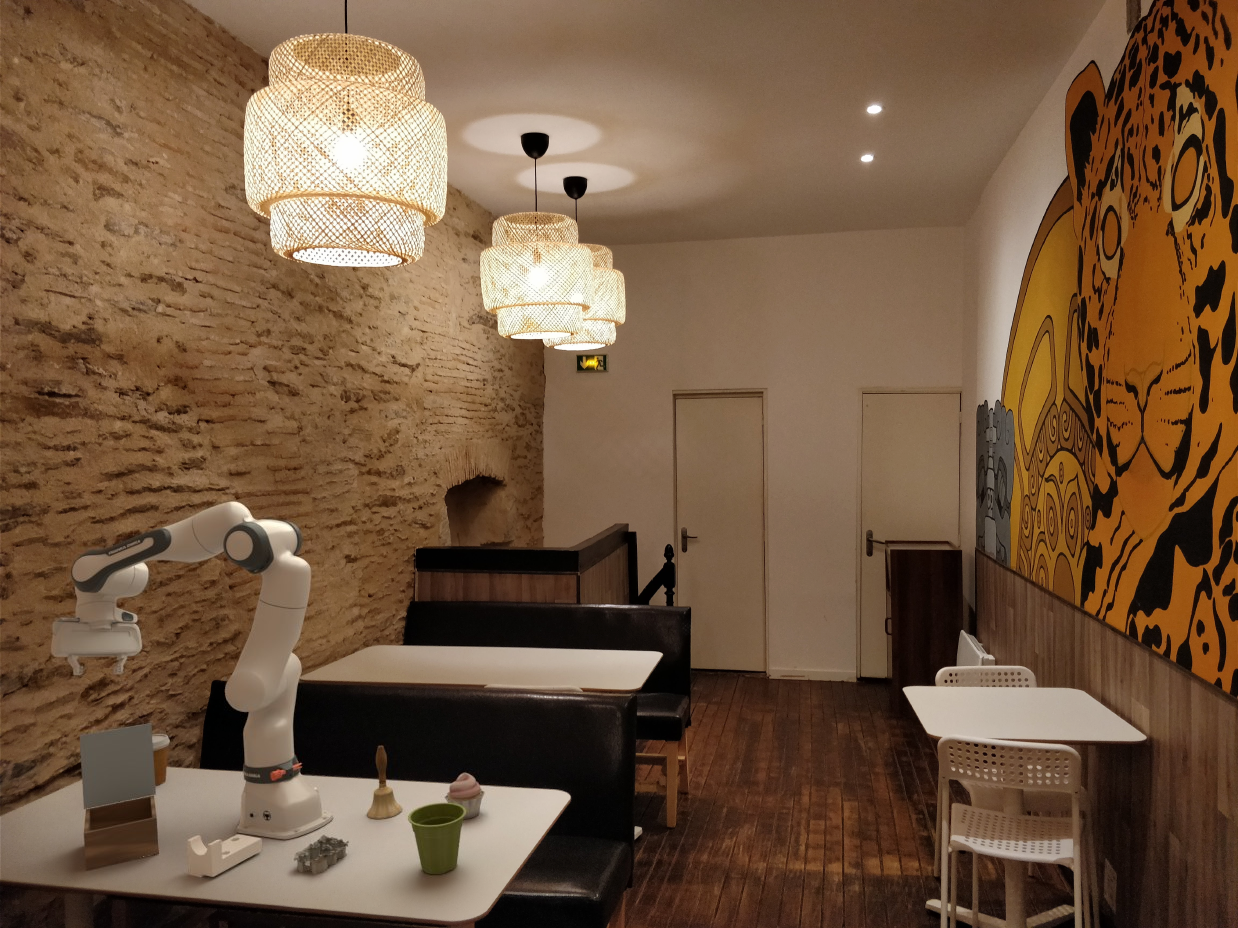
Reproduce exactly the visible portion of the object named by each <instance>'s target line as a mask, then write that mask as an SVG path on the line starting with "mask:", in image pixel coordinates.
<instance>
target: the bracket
mask: <svg viewBox="0 0 1238 928" xmlns="http://www.w3.org/2000/svg"><path fill="white" fill-rule="evenodd" d="M262 841H263V840H262V838H261V837H260V838H259V837H255V836H252V835H251V836H250V835H247V834H246V835H245V834H241V833H239V834H235V835H234V836H231V837H230V838H227V839H225V840H223V841H222V839H217V840H214V841H212V842H210V843H208V844H207V847H206V846H205V845H204V843H203V841H202V837H201V835H199V834H198V835H195V836H193V837H191V838H189V839H187V840H186V844H187V845H186V846H187V862H188V875H189V874H190V875H189V876H194V877H198V878H203V877H204V876H208V877H212V878H214V877H216V876H217V875H219V874H221V873H223V872H225V871H227V870H228V869H230V868H233V867H234V866H236V865H238V864H239V863H242V862H243V861H245V860H246V859H248V858H251V857H252V856H254V855H256V854H258V853H260V852H261V851H263V844H262Z"/></svg>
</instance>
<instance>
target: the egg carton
mask: <svg viewBox="0 0 1238 928" xmlns="http://www.w3.org/2000/svg"><path fill="white" fill-rule="evenodd" d="M349 843H350V842H349V840H347V841H346V842H345V841H344V840H343V839H342V838H340V839H338V838H337V837H334V836H331V837H330V836H327V835H325V834H323V835H321V836H320V838H318V839H317V840H316V841H314V842H313V843H310V844H309V845H308V846H307V847H305V848H303V849H302V850H301V851H297V852H295V854H294V857H293V861H294V862H297V863H296V864H297V869H298V872H300V873H305V872H307V871H312V874H313V875H314V874H315V875H317V874H319V873H324V872H326V871H327V870H328V868H329V867H328V866H332V865H334V866H335V864H337V861H338V860H337V859H340V858H345V857H346V856H347V853H346V850H347V848H348V847H349Z"/></svg>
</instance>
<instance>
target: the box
mask: <svg viewBox="0 0 1238 928" xmlns="http://www.w3.org/2000/svg"><path fill="white" fill-rule="evenodd" d="M155 800H156V799H155V795H151V796H146V797H141V798H137V799H132V800H127V801H122V802H117V803H112V804H107V805H102V806H97V807H92V808H87V809H85V814H84V815H85V816H84V829H83V843H84V844H83V845H84V860H85V861H84V862H85V871H91V870H95V869H98V868H99V869H100V868H103V867H107V866H112V865H116V863H117V864H120V862H121V863H125V862H129V861H128V860H130V861H133V860H132V859H134V860H137V858H138V859H141V858H140V857H143V856H147V857H149V856H148V855H151V856H154V854H155V855H159V854H160V850H159V849H160V847H159V835H158V834H159V833H158V832H159V831H158V818H157V817H158V816H157V810H156V809H157V808H156V801H155ZM158 853H159V854H158ZM143 858H144V857H143ZM124 861H125V862H124Z"/></svg>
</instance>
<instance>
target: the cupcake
mask: <svg viewBox="0 0 1238 928" xmlns="http://www.w3.org/2000/svg"><path fill="white" fill-rule="evenodd" d="M448 789H449V792H446V795H445V796H444V799H445V801H446V803H455V804H459V805H461V806H463V807H464V808H465V809H466V814H465V816H464V817H463V820H467V819H471V818H474V817H477V816H478V815H479V813H480V810H481V805H482V799H483V798H484V795H485V793H486V792H485V791H484V790H483V789H482V788H481V785H480V784H479V782H478V781H476V778H475V777H474V776H473V775H471V774H470V773H467V772H463V773H461V774H460V775H458V777H457V778H456V780H455V781H453V782H452V783H451V784H450V785H449V788H448Z"/></svg>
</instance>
